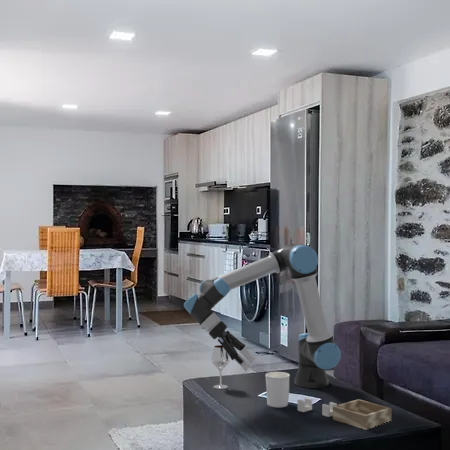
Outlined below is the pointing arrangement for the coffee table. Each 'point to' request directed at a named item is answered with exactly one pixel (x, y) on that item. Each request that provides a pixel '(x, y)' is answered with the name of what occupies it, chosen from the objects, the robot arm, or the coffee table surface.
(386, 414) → the square wooden tray
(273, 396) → the candle holder
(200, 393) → the coffee table surface
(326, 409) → the clips
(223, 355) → the wineglass
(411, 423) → the coffee table surface
